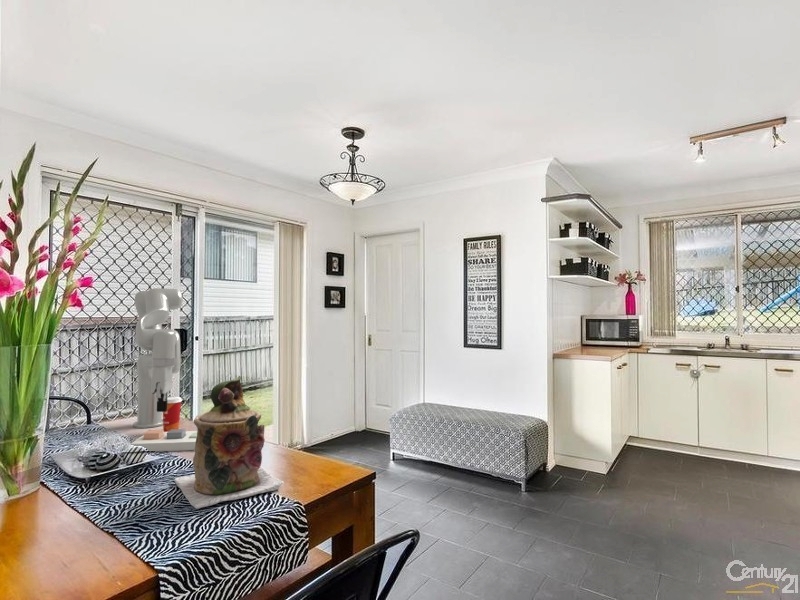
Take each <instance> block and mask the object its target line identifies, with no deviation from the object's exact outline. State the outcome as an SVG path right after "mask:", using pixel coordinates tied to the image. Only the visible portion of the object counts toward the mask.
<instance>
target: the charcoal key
mask: <svg viewBox="0 0 800 600" xmlns="http://www.w3.org/2000/svg"><path fill="white" fill-rule="evenodd" d="M186 431H187V429H186V428H179V429H171V430H170V431H169V432H167V439H182V438H183V437H184V436H185V435H186Z"/></svg>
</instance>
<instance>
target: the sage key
mask: <svg viewBox="0 0 800 600" xmlns="http://www.w3.org/2000/svg"><path fill="white" fill-rule="evenodd" d="M189 438H197V433H193V434H192V435H190V436H189Z"/></svg>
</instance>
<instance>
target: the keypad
mask: <svg viewBox="0 0 800 600" xmlns="http://www.w3.org/2000/svg"><path fill="white" fill-rule="evenodd" d="M193 433H197V430H186V435H185V436H184V437H183V438H182V439H167V432H164V435H163V437H161V438H160V439H154V440H144V434H143V435H142V436H140V437H139V438H137V439H135V440H134V441H133V442H131V443H130V445H134V446H143V447H146V448H147V450H148V451H155V452H175V451H177V452H178V451H179V452H181V451H195V443H196V438H189V436H190V435H192V434H193ZM130 445H129V446H130Z"/></svg>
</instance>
